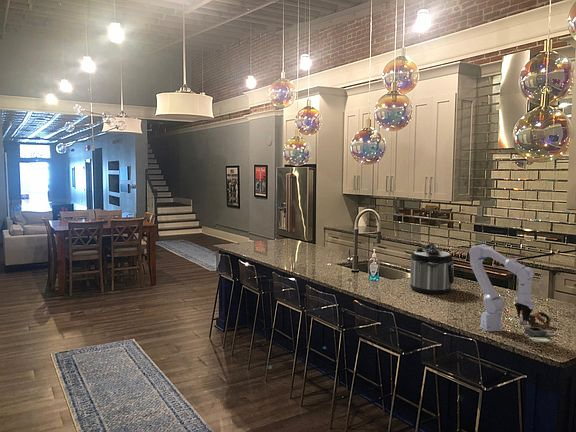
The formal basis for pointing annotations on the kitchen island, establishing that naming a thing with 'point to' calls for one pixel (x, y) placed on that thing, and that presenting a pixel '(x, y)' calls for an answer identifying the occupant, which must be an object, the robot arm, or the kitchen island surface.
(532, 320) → the brown looped band
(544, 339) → the mat
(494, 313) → the robot arm
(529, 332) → the grey square with handle
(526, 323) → the metal cylinder
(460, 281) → the kitchen island surface
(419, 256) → the pressure cooker
